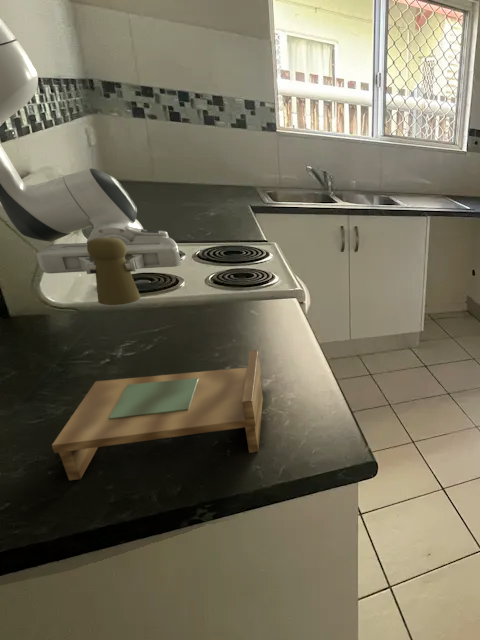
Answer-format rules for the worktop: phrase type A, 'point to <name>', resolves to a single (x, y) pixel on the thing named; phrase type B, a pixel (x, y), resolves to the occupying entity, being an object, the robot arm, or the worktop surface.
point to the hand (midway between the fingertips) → (110, 268)
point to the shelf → (162, 411)
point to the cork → (112, 272)
